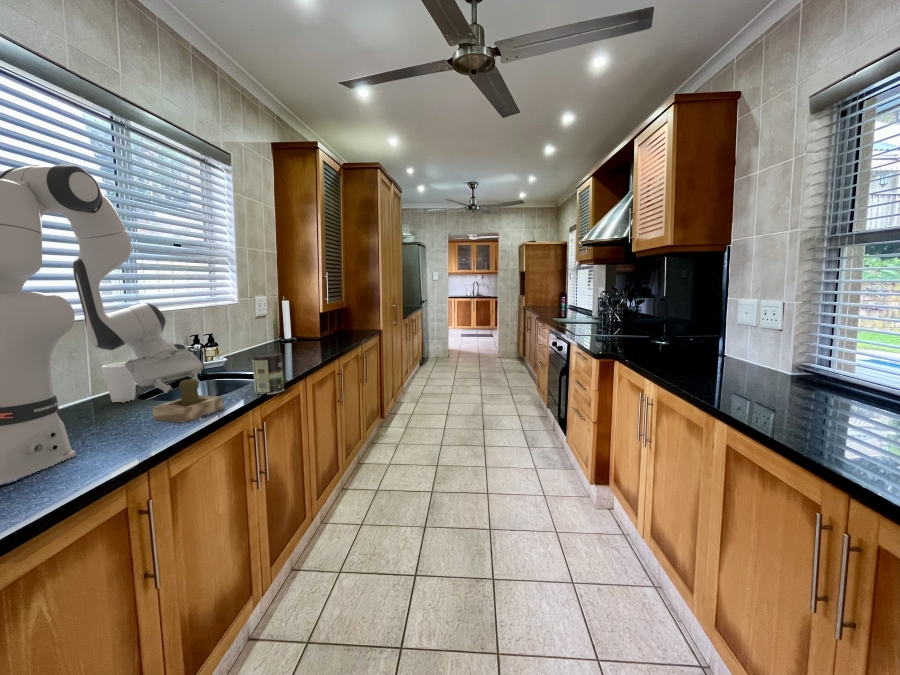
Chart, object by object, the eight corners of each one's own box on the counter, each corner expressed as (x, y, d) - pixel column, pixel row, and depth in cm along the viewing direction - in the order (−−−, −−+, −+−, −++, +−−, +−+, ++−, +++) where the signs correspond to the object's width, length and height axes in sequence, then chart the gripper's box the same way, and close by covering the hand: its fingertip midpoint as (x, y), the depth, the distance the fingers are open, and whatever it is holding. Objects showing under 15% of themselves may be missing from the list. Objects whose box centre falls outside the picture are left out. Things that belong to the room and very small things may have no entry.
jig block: (184, 423, 119) (182, 409, 118) (153, 419, 122) (152, 406, 122) (223, 408, 132) (222, 396, 131) (195, 406, 136) (193, 394, 135)
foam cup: (139, 395, 151) (135, 360, 149) (141, 400, 144) (136, 364, 142) (106, 400, 145) (101, 364, 143) (106, 405, 138) (101, 368, 136)
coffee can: (284, 387, 160) (282, 351, 158) (284, 393, 150) (281, 355, 148) (255, 389, 156) (252, 353, 154) (253, 396, 146) (250, 358, 144)
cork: (192, 417, 124) (189, 382, 122) (175, 416, 124) (171, 381, 123) (207, 411, 129) (204, 377, 128) (190, 410, 130) (187, 377, 129)
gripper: (126, 354, 117) (155, 389, 115) (190, 344, 136) (215, 374, 135) (117, 368, 119) (145, 403, 117) (181, 356, 138) (206, 386, 137)
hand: (183, 387), depth 126 cm, fingers open, 8 cm apart
